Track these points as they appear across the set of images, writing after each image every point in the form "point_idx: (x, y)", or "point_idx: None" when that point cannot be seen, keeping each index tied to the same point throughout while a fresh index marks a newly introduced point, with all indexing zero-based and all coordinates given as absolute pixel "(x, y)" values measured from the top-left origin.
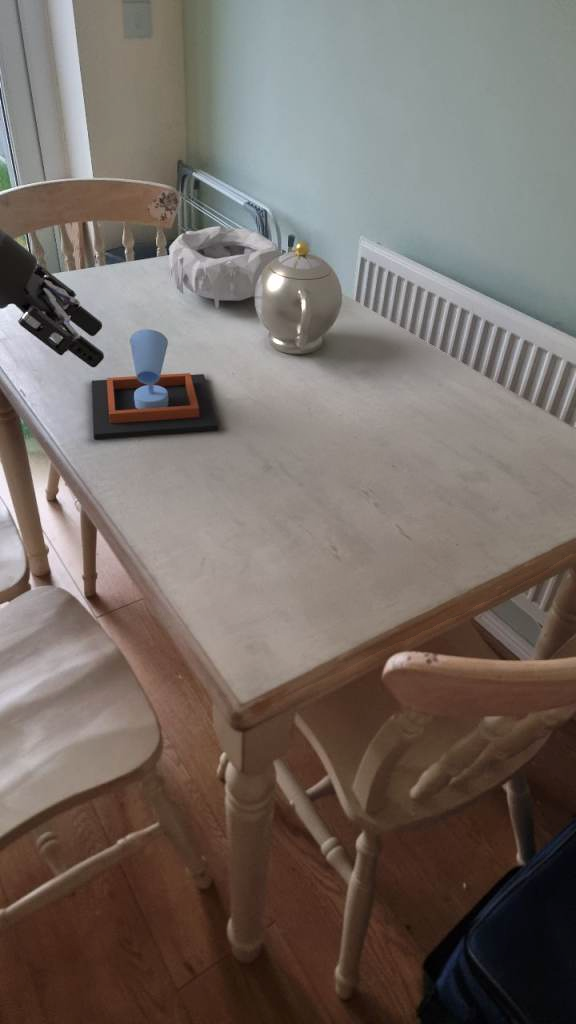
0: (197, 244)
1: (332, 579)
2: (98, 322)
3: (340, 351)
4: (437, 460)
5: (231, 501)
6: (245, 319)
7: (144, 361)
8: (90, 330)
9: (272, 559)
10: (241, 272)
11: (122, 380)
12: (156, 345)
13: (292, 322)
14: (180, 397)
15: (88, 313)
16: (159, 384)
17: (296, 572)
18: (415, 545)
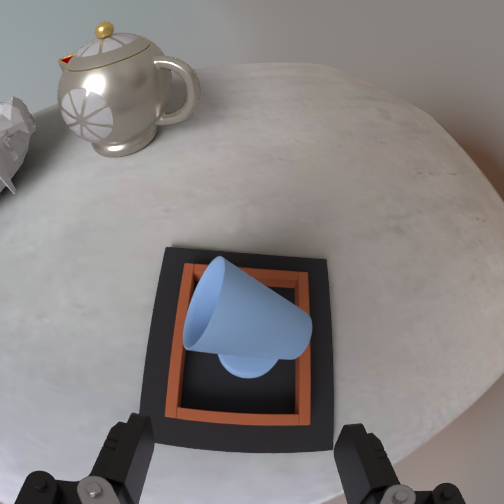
0: None
1: (499, 231)
2: (143, 425)
3: None
4: (368, 118)
5: (450, 278)
6: (44, 174)
7: (294, 329)
8: (149, 449)
9: (496, 262)
10: (13, 132)
11: (179, 388)
12: (258, 285)
13: (160, 102)
14: None
15: (128, 454)
16: None
17: (500, 250)
18: (460, 174)
